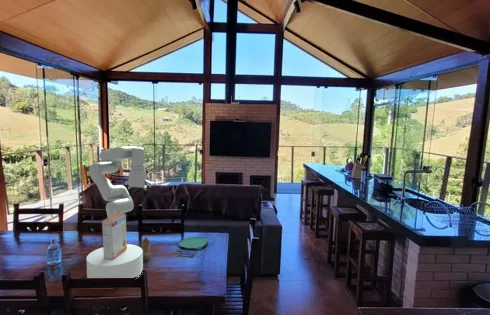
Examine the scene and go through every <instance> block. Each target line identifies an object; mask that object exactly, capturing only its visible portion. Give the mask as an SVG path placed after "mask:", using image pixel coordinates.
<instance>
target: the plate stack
mask: <svg viewBox="0 0 490 315" xmlns="http://www.w3.org/2000/svg"><path fill="white" fill-rule="evenodd" d="M142 270H144V261H143V250H142V247H140V246H138V245H135V244H131V243H127V249H126V250H125V251H123V252H122V253H121V254H120V255H118V256H117V257H116V258H115V259H104V252H103V246H102V247H100V248H97V249H94V250H93V251H92V252H90V253H89V254H88V255H87V256H86V279H87V278H134V277H138V278H139V277H140V276H141V275H142V274H141V272H142ZM142 273H143V272H142ZM140 274H141V275H140ZM139 275H140V276H139Z"/></svg>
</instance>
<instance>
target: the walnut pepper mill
mask: <svg viewBox="0 0 490 315" xmlns="http://www.w3.org/2000/svg"><path fill="white" fill-rule="evenodd" d="M141 249H142V250H143V262H149V261H150V260H151V241H150V239H149V238H148V236H144V239H142V242H141Z"/></svg>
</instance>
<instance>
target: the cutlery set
mask: <svg viewBox="0 0 490 315" xmlns="http://www.w3.org/2000/svg"><path fill="white" fill-rule="evenodd" d="M208 244H209V239H207V238H205V237H200V236H188V237H184V238H183V239H182V240H180V241H179V242H178V246H179V248H182V249H176V251H174V252H173V253H172V254H171V256H175V257H185V258H194V256H195V255H196V254H198V252H197V251H193V252H192V251H190V250H193V249H194V250H195V249H196V250H198V251H201V250H202V248H205V247H206V246H207V245H208ZM183 249H184V250H183ZM185 249H186V250H185Z"/></svg>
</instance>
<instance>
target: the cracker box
mask: <svg viewBox="0 0 490 315" xmlns="http://www.w3.org/2000/svg"><path fill="white" fill-rule="evenodd" d="M126 216H127V215H126V213H116V214H114V215H112V216H110V217H109V218H108V217H107V218H104V219H103V220H102V221H101V224H102V225H101V226H102V228H101V229H102V244H103V246H102V247H103V252H104V259H115V258H116V257H117V256H118V255H120V254H121V253H122V252H123V251H125V250H126V249H127V244H128V243H127V242H128V241H127V217H126Z"/></svg>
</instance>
